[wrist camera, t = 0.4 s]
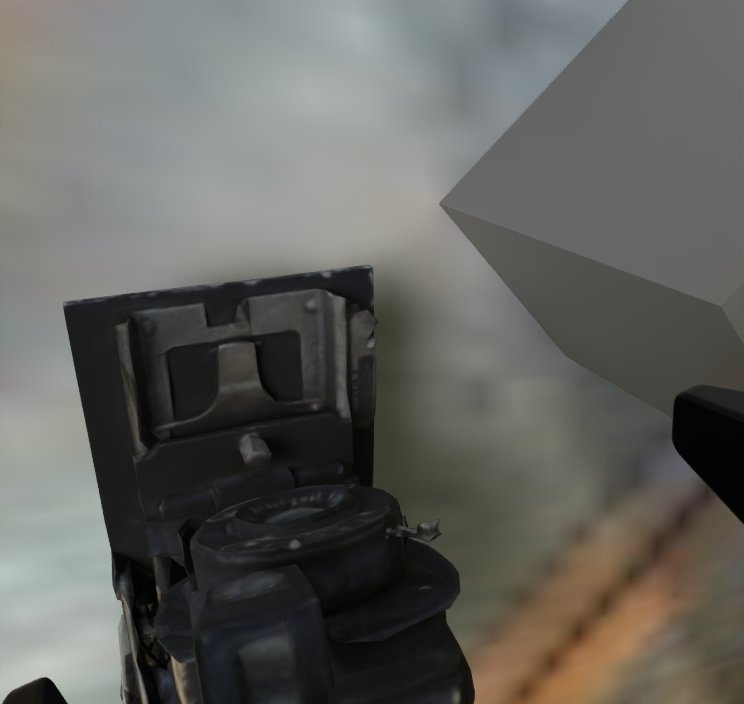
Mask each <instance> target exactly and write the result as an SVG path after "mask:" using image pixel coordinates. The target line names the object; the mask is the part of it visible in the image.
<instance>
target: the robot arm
mask: <svg viewBox="0 0 744 704" xmlns="http://www.w3.org/2000/svg"><path fill="white" fill-rule="evenodd" d="M672 441H673V444H674V447H675V449H676V450H677V452H678V453H679V455H680V456H681V457H682V458H683V459H684V460H685V461H686V462H687V464H688V465H689V466H690V467H691V468H692V469H693V470H694V471H695V472H696V473H697V474H698V476H699V477H700V478H701V479H702V480H703V481H704V482H705V483H706V484H707V485H708V486H709V487H710V489H711V490H712V491H713V492H714V493H715V494H716V495H717V496H718V497H719V498H720V499H721V501H722V502H723V503H724V504H725V505H726V506H727V507H728V508H729V509H730V510H731V511H732V513H733V514H734V515H735V516H736V517H737V518H738V519H739V520H740V521H741V522H742V523H743V524H744V392H743V391H738V390H732V389H727V388H721V387H715V386H710V385H696V386H694V387H692V388H689V389H687V390H685V391H683V392H680V393H679V394H677V395H676V397H675V399H674V402H673V420H672ZM2 704H68V703H67V702H66V700H65V699H64V697H63V696H62V694H61V693H60V692H59V690H58V689H57V687H56V686H55V684H54V683H53V682H52V681H51V680H50V679H49V678H46V677H43V678H39V679H37V680H34V681H32V682H30V683H28V684H26V685H23V686H21V687H19V688H17V689H14V690H13V691H11V692H10V693H9V694H8V695H7V697H6V698H5V700H4V701H3V703H2Z"/></svg>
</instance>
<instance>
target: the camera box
mask: <svg viewBox="0 0 744 704" xmlns="http://www.w3.org/2000/svg"><path fill="white" fill-rule="evenodd" d="M439 204H440V205H441V207H442V208H443V209H444V210H445V211H446V213H447V214H448V215H449V216H450V217H451V219H452V220H453V221H454V222H455V223H456V225H457V226H458V227H459V228H460V229H461V231H462V232H463V233H464V234H465V235H466V237H467V238H468V239H469V240H470V241H471V243H472V244H473V245H474V246H475V247H476V249H477V250H478V251H479V252H480V253H481V255H482V256H483V257H484V258H485V259H486V261H487V262H488V263H489V264H490V265H491V267H492V268H493V269H494V270H495V271H496V273H497V274H498V275H499V276H500V277H501V279H502V280H503V281H504V282H505V283H506V285H507V286H508V287H509V288H510V289H511V291H512V292H513V293H514V294H515V295H516V297H517V298H518V299H519V300H520V301H521V303H522V304H523V305H524V306H525V307H526V309H527V310H528V311H529V312H530V313H531V315H532V316H533V317H534V318H535V319H536V321H537V322H538V323H539V324H540V325H541V327H542V328H543V329H544V330H545V331H546V333H547V334H548V335H549V336H550V337H551V339H552V340H553V341H554V342H555V343H556V345H557V346H558V347H559V348H560V349H561V351H562V352H563V353H564V354H565V355H566V356H567V357H569V358H570V359H572V360H574V361H576V362H577V363H579V364H581V365H582V366H584V367H586V368H588V369H589V370H591V371H593V372H594V373H596V374H598V375H600V376H601V377H603V378H605V379H606V380H608V381H610V382H612V383H613V384H615V385H617V386H618V387H620V388H622V389H624V390H625V391H627V392H629V393H630V394H632V395H634V396H636V397H637V398H639V399H641V400H642V401H644V402H646V403H648V404H649V405H651V406H653V407H655V408H656V409H658V410H660V411H661V412H663V413H665V414H667V415H668V416H670V417H672V418H673V402H674V399H675V397H676V395H677V394H679V393H680V392H683V391H685V390H687V389H689V388H692V387H694V386H696V385H710V386H715V387H721V388H727V389H732V390H738V391H743V392H744V0H629V1H628V2H627V3H626V4H625V5H624V6H623V8H622V9H621V10H620V11H619V12H618V13H617V14H616V15H615V16H614V17H613V18H612V19H611V20H610V21H609V23H608V24H607V25H606V26H605V27H604V28H603V29H602V30H601V31H600V32H599V33H598V34H597V35H596V36H595V37H594V39H593V40H592V41H591V42H590V43H589V44H588V45H587V46H586V47H585V48H584V49H583V50H582V51H581V52H580V54H579V55H578V56H577V57H576V58H575V59H574V60H573V61H572V62H571V63H570V64H569V65H568V66H567V67H566V69H565V70H564V71H563V72H562V73H561V74H560V75H559V76H558V77H557V78H556V79H555V80H554V81H553V82H552V83H551V85H550V86H549V87H548V88H547V89H546V90H545V91H544V92H543V93H542V94H541V95H540V96H539V97H538V98H537V100H536V101H535V102H534V103H533V104H532V105H531V106H530V107H529V108H528V109H527V110H526V111H525V112H524V113H523V115H522V116H521V117H520V118H519V119H518V120H517V121H516V122H515V123H514V124H513V125H512V126H511V127H510V128H509V129H508V131H507V132H506V133H505V134H504V135H503V136H502V137H501V138H500V139H499V140H498V141H497V142H496V143H495V144H494V146H493V147H492V148H491V149H490V150H489V151H488V152H487V153H486V154H485V155H484V156H483V157H482V158H481V159H480V161H479V162H478V163H477V164H476V165H475V166H474V167H473V168H472V169H471V170H470V171H469V172H468V173H467V174H466V175H465V177H464V178H463V179H462V180H461V181H460V182H459V183H458V184H457V185H456V186H455V187H454V188H453V189H452V190H451V192H450V193H449V194H448V195H447V196H446V197H445V198H444V199H443V200H442V201H441V202H440V203H439Z"/></svg>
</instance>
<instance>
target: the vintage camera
mask: <svg viewBox="0 0 744 704" xmlns="http://www.w3.org/2000/svg"><path fill="white" fill-rule="evenodd" d="M63 309H64V314H65V320H66V325H67V330H68V335H69V340H70V346H71V351H72V356H73V361H74V366H75V372H76V377H77V382H78V387H79V392H80V397H81V402H82V407H83V412H84V417H85V422H86V427H87V432H88V437H89V442H90V447H91V452H92V458H93V463H94V468H95V473H96V478H97V483H98V488H99V494H100V499H101V504H102V509H103V515H104V520H105V524H106V529H107V533H108V538H109V542H110V547H111V553H112V582H113V588H114V591H115V594H116V597H117V600H121V601H122V607H123V613H124V614H123V615H122V617H121V620H120V624H119V627H118V632H119V643H120V655H121V666H122V671H121V699H122V702H123V704H473V703H474V700H475V690H474V685H473V680H472V675H471V669H470V667H469V665H468V663H467V661H466V659H465V657H464V655H463V652H462V650H461V648H460V646H459V644H458V642H457V641H456V639H455V637H454V635H453V634H452V632H451V630H450V628H449V626H448V625H447V622H446V611H445V610H447V609H449V608H450V607H451V605H452V604H453V602H454V601H455V599H456V598H457V596H458V595H459V593H460V581H459V573H458V571H457V570H456V569H455V567H454V566H453V565H452V564H451V563H450V562H449V561H448V560H447V559H446V558H445V557H443V556H442V555H441V554H440V553H438V552H437V551H435V550H434V549H432V548H431V547H429V546H428V545H425V544H423V543H420V542H417V541H415V540H412V539H410V538H408V537H411V538H418V539H421V540H424V541H427V542H430V541H432V540H434V539H435V538H437V537H438V536H440V535H441V533H440V532H439V530H438V529H437V528H438V524H439V521H440V519H438V520H434V521H430V522H426V523H421V524H418V527H417V529H413V528H408V525H407V521H406V517H405V515H404V516H403V517H402V514H401V511H400V505H399V503H398V500H397V499H395V498H394V497H393V496H391V495H390V494H388V493H387V492H385V491H384V490H380V489H376V488H373V487H372V484H373V451H374V415H375V405H376V351H375V344H376V338H375V337H374V328H375V326H376V324H377V322H378V321H377V320H376V318H375V317H374V287H373V267H371V266H369V265H363V266H355V267H348V268H340V269H332V270H325V271H317V272H309V273H301V274H294V275H286V276H278V277H270V278H261V279H252V280H243V281H234V282H225V283H216V284H207V285H199V286H190V287H182V288H173V289H165V290H156V291H148V292H139V293H130V294H122V295H114V296H106V297H98V298H90V299H83V300H75V301H67V302H63Z"/></svg>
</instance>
